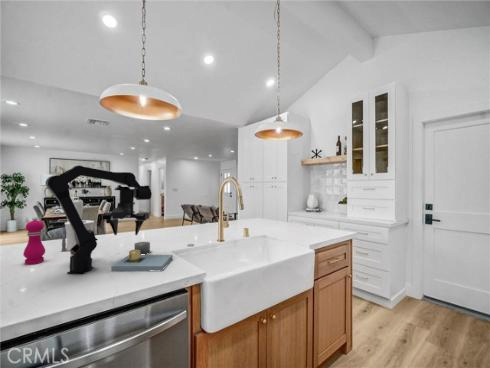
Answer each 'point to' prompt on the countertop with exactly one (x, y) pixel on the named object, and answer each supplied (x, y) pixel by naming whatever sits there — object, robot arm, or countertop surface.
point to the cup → (70, 232)
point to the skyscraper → (79, 209)
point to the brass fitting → (134, 256)
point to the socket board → (143, 263)
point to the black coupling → (143, 247)
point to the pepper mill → (34, 243)
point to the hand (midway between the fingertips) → (126, 235)
